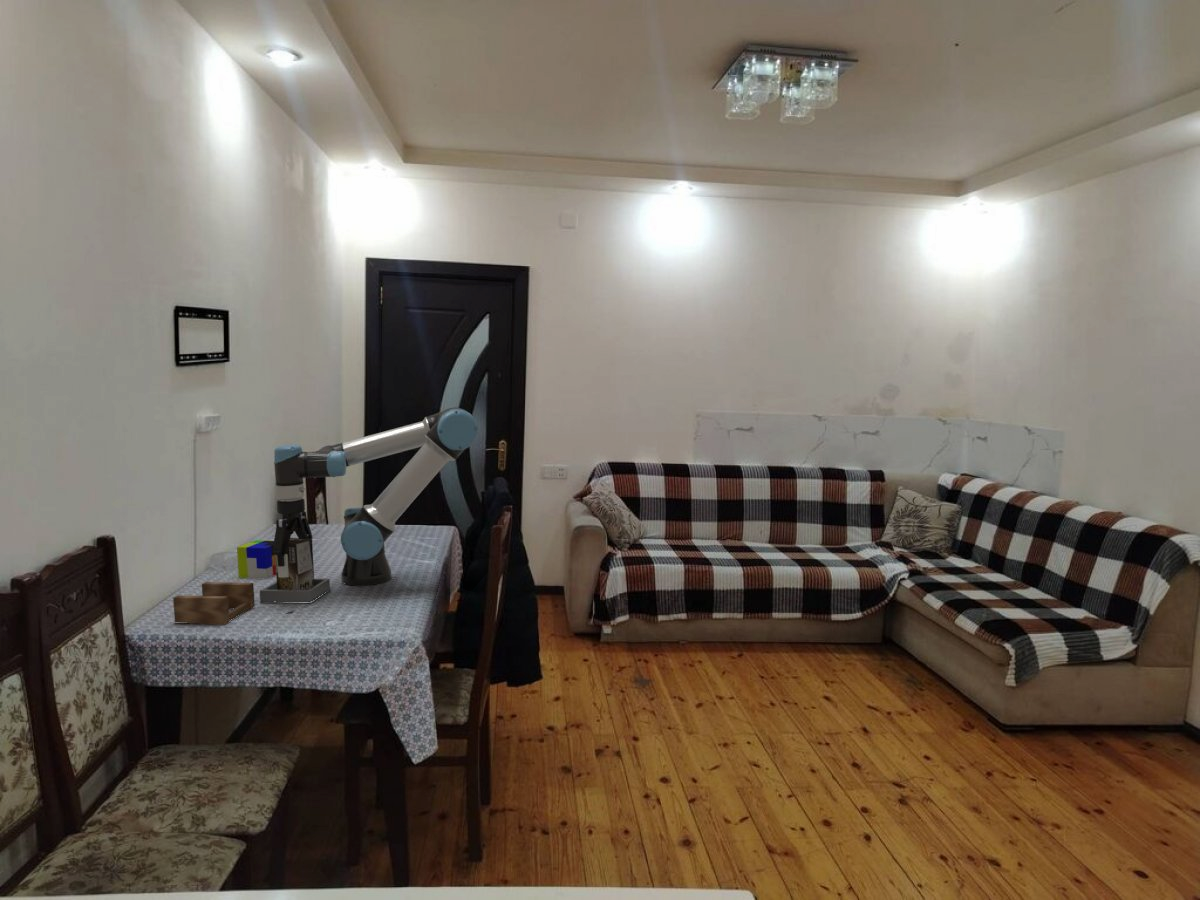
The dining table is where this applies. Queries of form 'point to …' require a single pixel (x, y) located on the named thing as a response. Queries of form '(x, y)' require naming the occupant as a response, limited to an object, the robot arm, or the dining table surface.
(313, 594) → the tray
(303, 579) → the coffee box
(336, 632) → the dining table surface
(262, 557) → the puzzle toy
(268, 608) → the dining table surface
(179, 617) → the holder
